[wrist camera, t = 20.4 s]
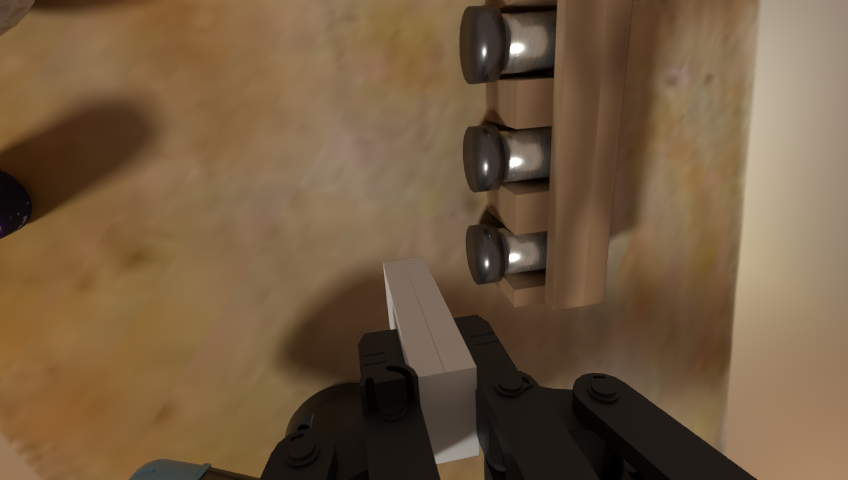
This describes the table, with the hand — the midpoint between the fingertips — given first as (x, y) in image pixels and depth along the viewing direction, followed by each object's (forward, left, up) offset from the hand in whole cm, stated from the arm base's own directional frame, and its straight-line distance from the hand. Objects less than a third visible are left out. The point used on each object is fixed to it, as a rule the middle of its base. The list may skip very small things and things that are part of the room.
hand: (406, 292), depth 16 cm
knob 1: (+13, +9, -25) cm, 30 cm away
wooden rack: (+15, 0, -26) cm, 30 cm away
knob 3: (+13, -9, -25) cm, 30 cm away
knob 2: (+14, 0, -25) cm, 28 cm away
